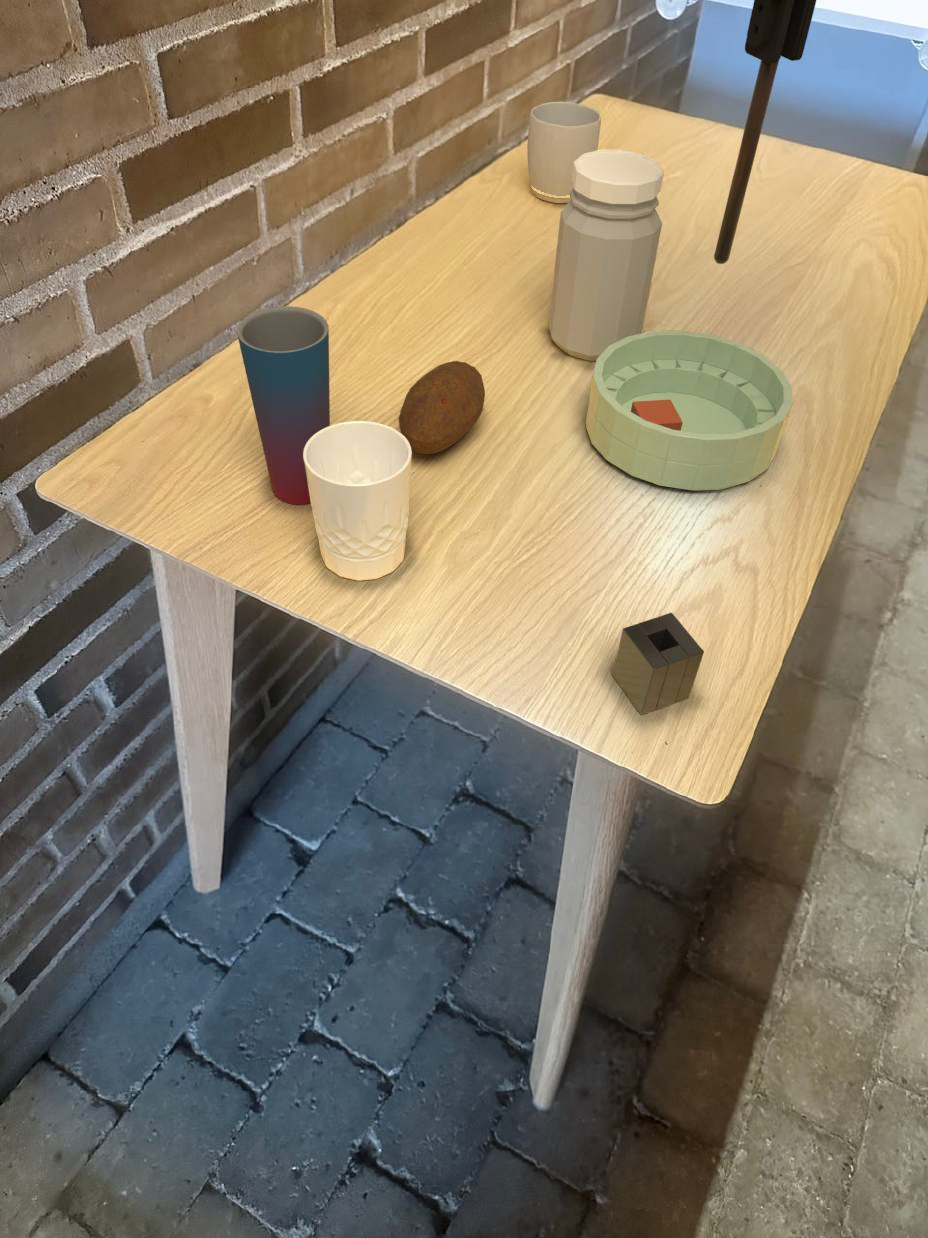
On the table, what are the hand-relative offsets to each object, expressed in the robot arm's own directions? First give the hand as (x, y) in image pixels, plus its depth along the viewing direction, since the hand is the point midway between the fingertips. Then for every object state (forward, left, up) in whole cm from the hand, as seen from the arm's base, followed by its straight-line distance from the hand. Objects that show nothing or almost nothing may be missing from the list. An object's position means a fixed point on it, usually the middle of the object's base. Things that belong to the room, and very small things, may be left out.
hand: (772, 54), depth 65 cm
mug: (-17, -54, -32) cm, 65 cm away
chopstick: (0, 0, -15) cm, 15 cm away
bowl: (0, 0, -32) cm, 32 cm away
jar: (-1, -18, -32) cm, 37 cm away
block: (+4, +1, -31) cm, 32 cm away
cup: (+35, -6, -32) cm, 48 cm away
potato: (+21, -8, -32) cm, 39 cm away
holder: (+19, +25, -32) cm, 45 cm away
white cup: (+33, +4, -32) cm, 46 cm away
